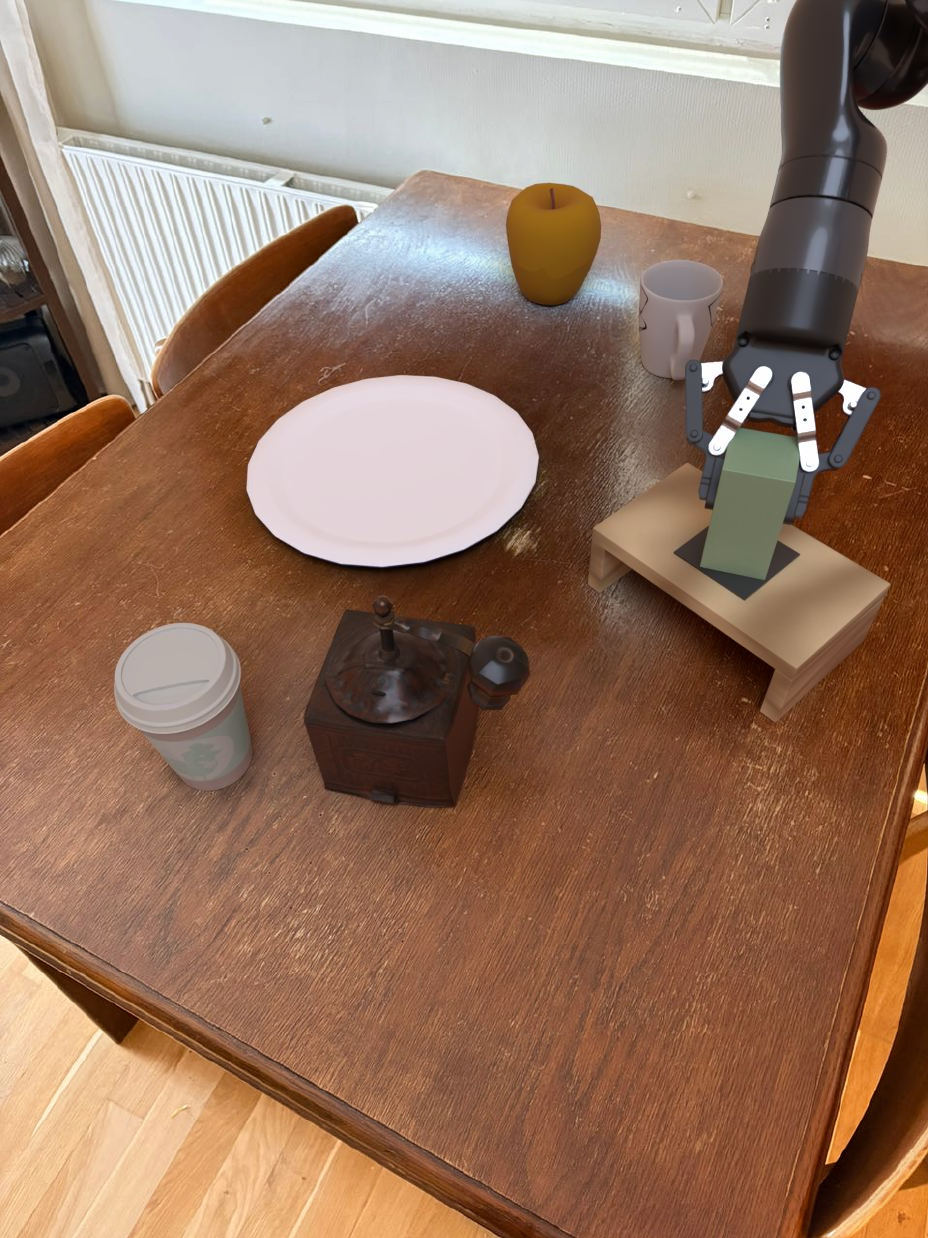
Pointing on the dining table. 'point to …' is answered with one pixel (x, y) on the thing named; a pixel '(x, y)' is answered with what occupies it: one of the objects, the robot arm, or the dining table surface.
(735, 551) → the green carton
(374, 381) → the plate
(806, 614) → the shelf
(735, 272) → the dining table surface
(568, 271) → the apple
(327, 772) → the coffee grinder
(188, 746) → the coffee cup
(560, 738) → the dining table surface
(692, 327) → the mug
